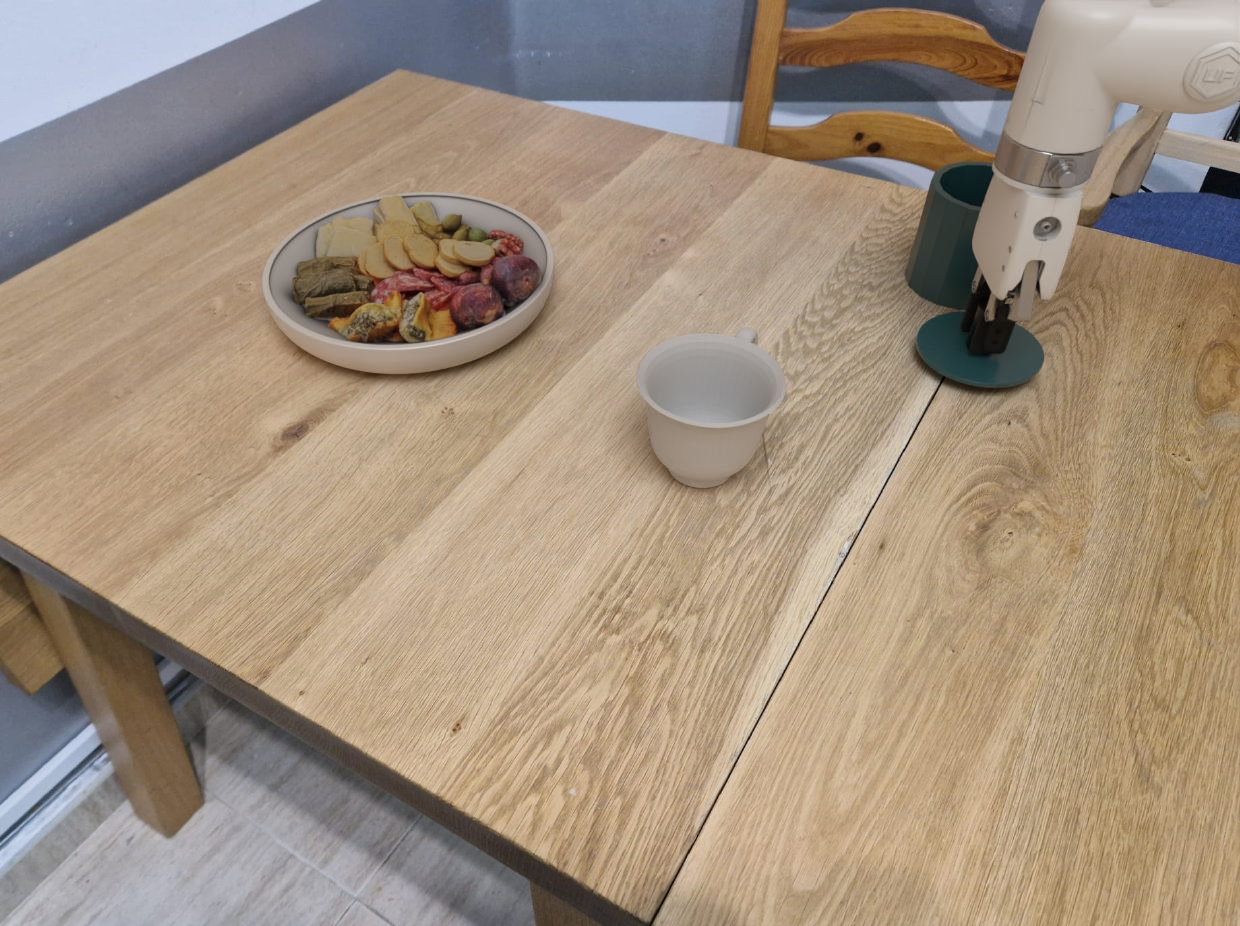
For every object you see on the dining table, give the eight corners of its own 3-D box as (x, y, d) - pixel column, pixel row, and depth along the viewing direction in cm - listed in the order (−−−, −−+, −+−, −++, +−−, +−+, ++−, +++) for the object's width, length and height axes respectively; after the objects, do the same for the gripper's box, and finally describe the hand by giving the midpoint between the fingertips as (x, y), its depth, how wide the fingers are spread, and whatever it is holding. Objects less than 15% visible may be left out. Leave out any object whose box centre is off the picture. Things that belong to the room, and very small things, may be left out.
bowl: (216, 358, 94) (193, 290, 89) (356, 214, 114) (344, 152, 108) (493, 417, 87) (486, 348, 82) (591, 253, 107) (591, 188, 101)
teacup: (801, 430, 86) (821, 340, 78) (736, 535, 77) (751, 444, 70) (682, 388, 90) (690, 300, 83) (607, 483, 81) (609, 393, 74)
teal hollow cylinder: (992, 260, 105) (1027, 161, 96) (1018, 315, 97) (1058, 213, 89) (896, 258, 105) (922, 160, 97) (915, 313, 98) (945, 212, 90)
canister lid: (1021, 320, 94) (1039, 271, 90) (1056, 393, 86) (1078, 344, 82) (903, 320, 95) (916, 271, 91) (928, 392, 87) (943, 343, 83)
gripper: (1129, 205, 71) (1047, 395, 84) (1062, 112, 82) (999, 293, 95) (1026, 205, 71) (961, 394, 84) (973, 113, 82) (923, 293, 95)
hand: (981, 339), depth 89 cm, fingers closed on canister lid, 2 cm apart
